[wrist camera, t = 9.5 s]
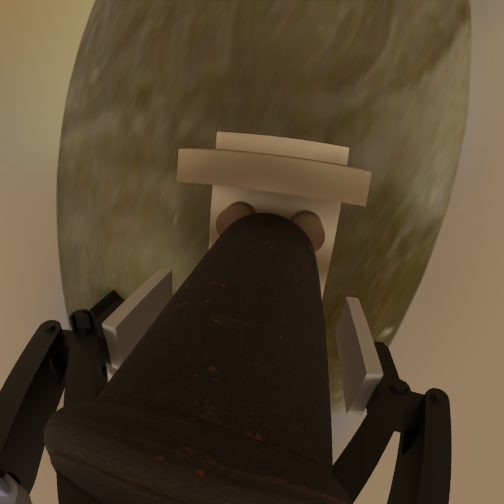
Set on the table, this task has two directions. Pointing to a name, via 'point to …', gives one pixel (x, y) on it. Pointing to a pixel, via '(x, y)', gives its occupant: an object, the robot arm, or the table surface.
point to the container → (217, 387)
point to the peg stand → (277, 184)
